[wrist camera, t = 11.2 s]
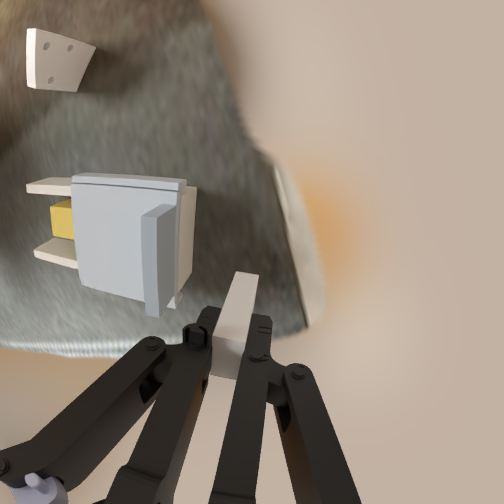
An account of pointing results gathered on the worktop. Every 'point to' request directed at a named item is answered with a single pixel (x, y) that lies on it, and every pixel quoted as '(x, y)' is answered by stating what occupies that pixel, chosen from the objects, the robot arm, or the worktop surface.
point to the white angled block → (55, 61)
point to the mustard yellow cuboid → (62, 219)
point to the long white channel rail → (65, 249)
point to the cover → (128, 236)
